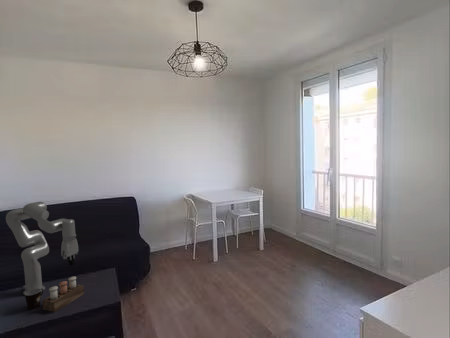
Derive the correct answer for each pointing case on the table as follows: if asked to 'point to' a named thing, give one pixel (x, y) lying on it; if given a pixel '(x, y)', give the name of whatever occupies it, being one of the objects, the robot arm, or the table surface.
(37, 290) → the coffee mug
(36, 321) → the table surface
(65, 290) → the terracotta plug
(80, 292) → the socket block
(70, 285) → the cream plug
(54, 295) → the cream plug
